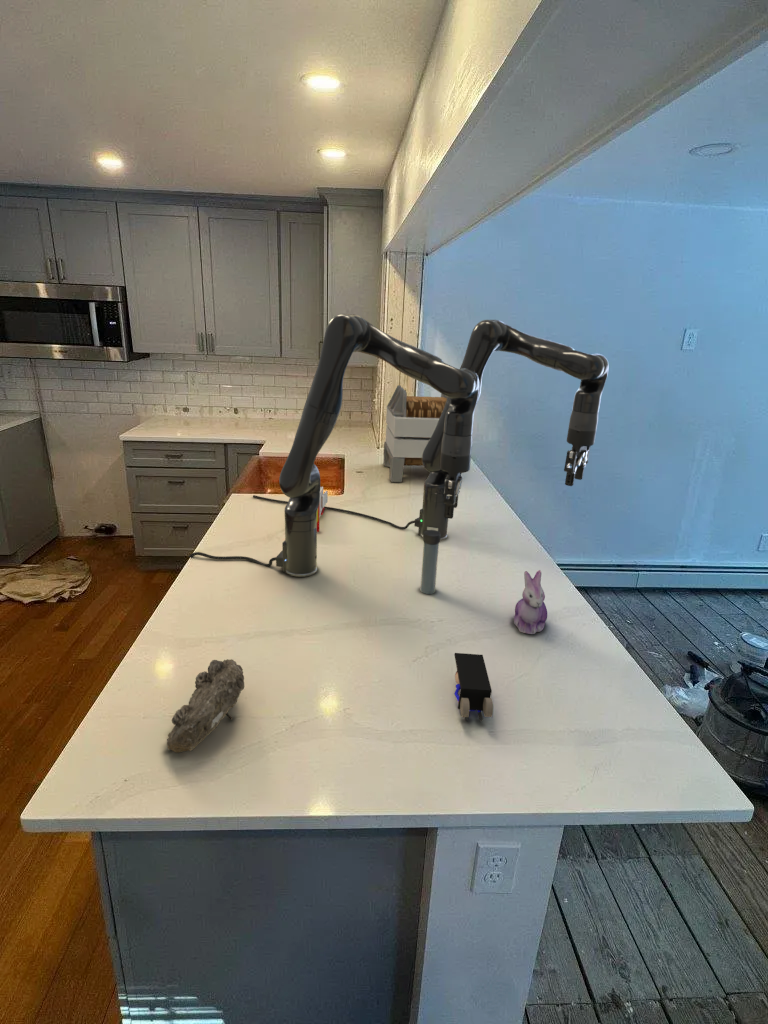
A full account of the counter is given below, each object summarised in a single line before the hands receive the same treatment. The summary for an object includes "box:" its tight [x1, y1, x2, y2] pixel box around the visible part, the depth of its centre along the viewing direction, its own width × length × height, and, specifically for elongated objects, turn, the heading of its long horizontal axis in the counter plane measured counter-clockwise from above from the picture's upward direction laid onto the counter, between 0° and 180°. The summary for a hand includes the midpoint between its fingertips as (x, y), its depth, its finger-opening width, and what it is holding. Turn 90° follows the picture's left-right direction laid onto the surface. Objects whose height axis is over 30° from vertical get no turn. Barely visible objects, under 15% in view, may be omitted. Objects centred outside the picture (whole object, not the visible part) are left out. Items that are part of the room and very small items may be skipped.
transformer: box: [383, 384, 448, 483], centre depth 268 cm, size 34×33×41 cm
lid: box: [422, 530, 441, 544], centre depth 155 cm, size 5×5×2 cm
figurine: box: [513, 569, 548, 635], centre depth 142 cm, size 9×10×15 cm
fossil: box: [166, 658, 245, 754], centre depth 106 cm, size 22×10×15 cm
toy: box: [317, 486, 329, 533], centre depth 209 cm, size 12×13×30 cm
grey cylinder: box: [419, 541, 440, 595], centre depth 158 cm, size 4×4×17 cm
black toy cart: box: [454, 652, 494, 722], centre depth 114 cm, size 7×8×15 cm
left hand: (450, 512), depth 147 cm, fingers open, 8 cm apart
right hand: (573, 482), depth 165 cm, fingers open, 8 cm apart
